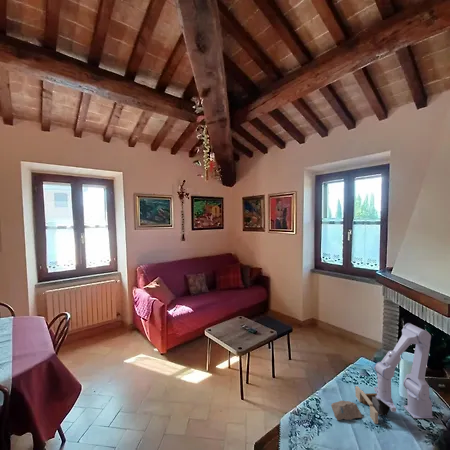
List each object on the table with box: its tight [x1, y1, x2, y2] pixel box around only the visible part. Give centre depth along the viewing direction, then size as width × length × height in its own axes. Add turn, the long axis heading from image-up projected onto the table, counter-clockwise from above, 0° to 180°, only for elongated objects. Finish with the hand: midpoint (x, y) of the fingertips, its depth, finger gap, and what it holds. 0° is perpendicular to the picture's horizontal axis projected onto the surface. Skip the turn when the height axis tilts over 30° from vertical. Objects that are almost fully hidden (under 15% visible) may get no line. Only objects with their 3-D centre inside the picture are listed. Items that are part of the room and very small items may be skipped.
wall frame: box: [354, 385, 379, 425], centre depth 128 cm, size 2×19×6 cm, turn 178°
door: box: [361, 392, 377, 405], centre depth 131 cm, size 2×8×5 cm, turn 89°
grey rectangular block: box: [372, 397, 383, 416], centre depth 127 cm, size 4×6×5 cm
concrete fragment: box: [331, 400, 363, 421], centre depth 124 cm, size 7×14×6 cm, turn 93°
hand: (384, 414), depth 123 cm, fingers closed
